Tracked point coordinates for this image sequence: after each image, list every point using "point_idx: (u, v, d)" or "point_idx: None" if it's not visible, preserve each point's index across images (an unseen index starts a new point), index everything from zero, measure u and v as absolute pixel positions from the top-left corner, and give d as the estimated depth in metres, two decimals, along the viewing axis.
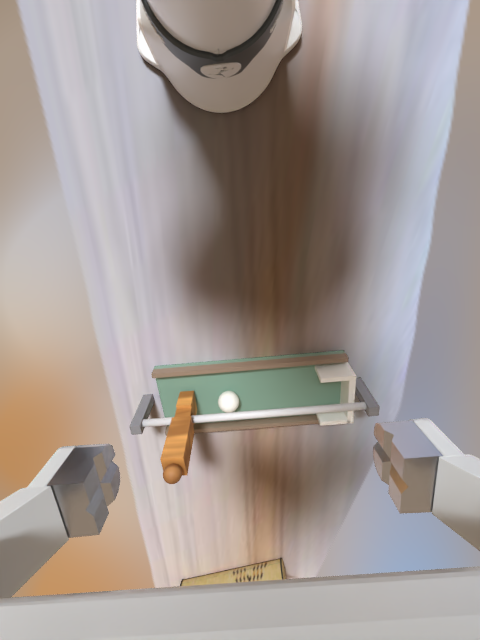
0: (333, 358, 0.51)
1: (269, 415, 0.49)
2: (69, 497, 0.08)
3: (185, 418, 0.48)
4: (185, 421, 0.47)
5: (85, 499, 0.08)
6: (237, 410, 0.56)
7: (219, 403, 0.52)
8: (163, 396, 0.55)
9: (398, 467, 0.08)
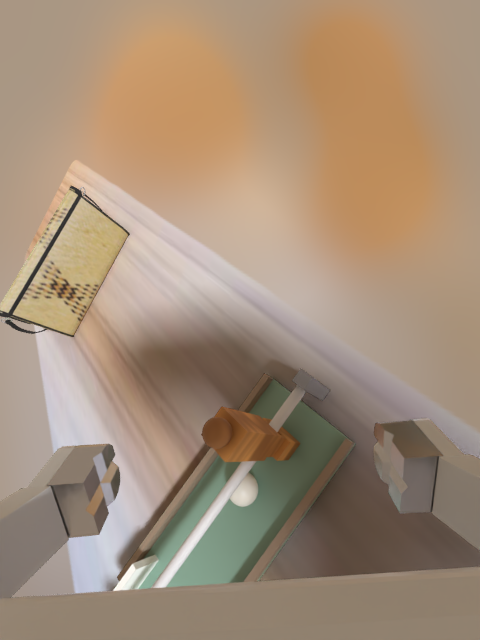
0: None
1: (187, 543, 0.33)
2: (69, 497, 0.08)
3: (267, 454, 0.31)
4: (264, 454, 0.31)
5: (85, 499, 0.08)
6: (225, 473, 0.40)
7: (249, 481, 0.35)
8: (310, 415, 0.37)
9: (398, 467, 0.08)
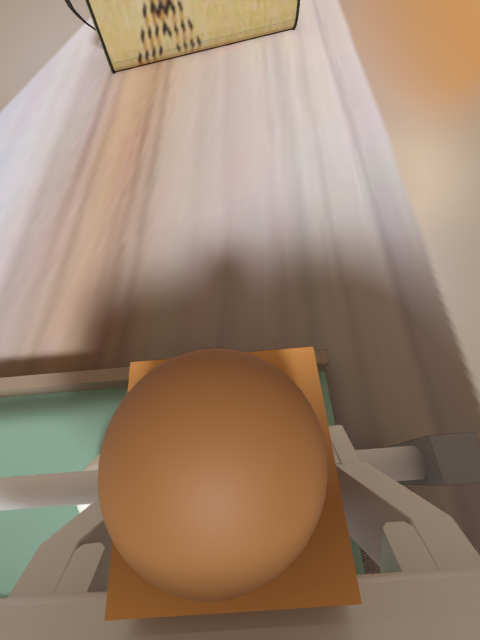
0: None
1: None
2: None
3: None
4: None
5: None
6: None
7: None
8: None
9: None
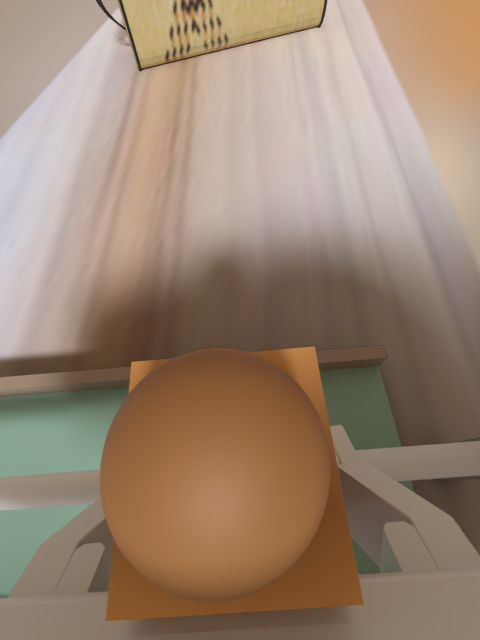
0: None
1: None
2: None
3: None
4: None
5: None
6: None
7: None
8: None
9: None
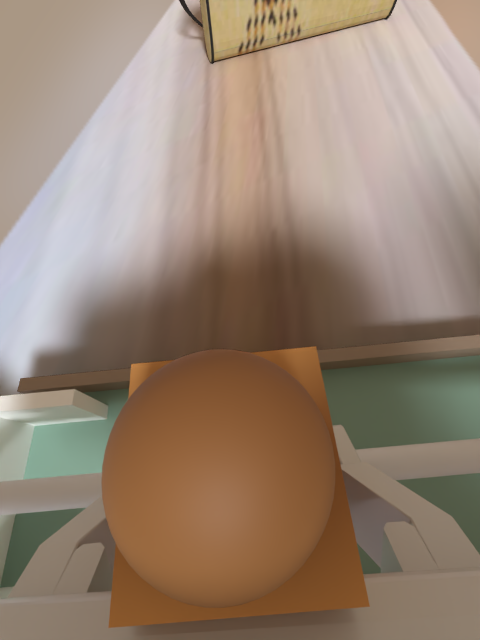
0: None
1: None
2: None
3: None
4: None
5: None
6: (333, 405, 0.19)
7: None
8: None
9: None
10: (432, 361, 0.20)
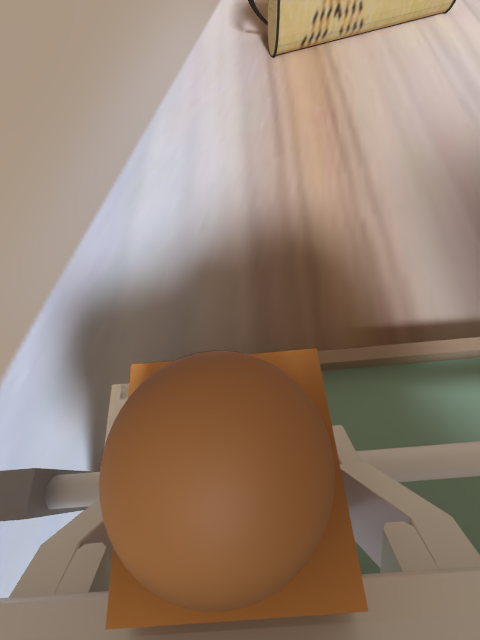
0: None
1: (442, 462, 0.12)
2: None
3: None
4: None
5: None
6: (459, 396, 0.19)
7: None
8: None
9: None
10: None
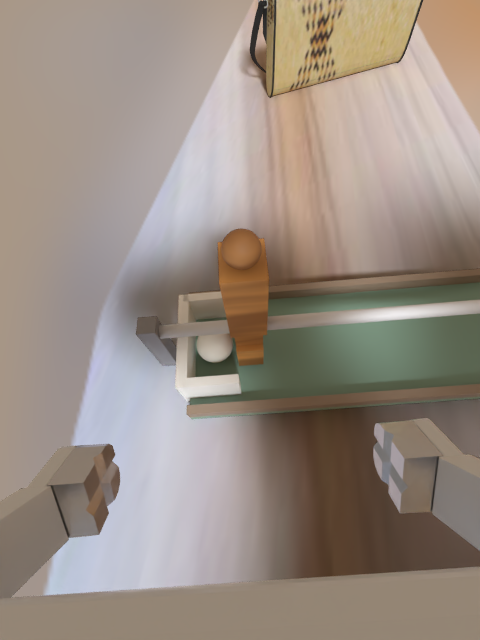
0: (212, 412, 0.28)
1: (332, 315, 0.27)
2: (69, 497, 0.08)
3: (240, 334, 0.25)
4: (238, 331, 0.25)
5: (85, 499, 0.08)
6: None
7: None
8: None
9: (398, 467, 0.08)
10: (420, 287, 0.34)
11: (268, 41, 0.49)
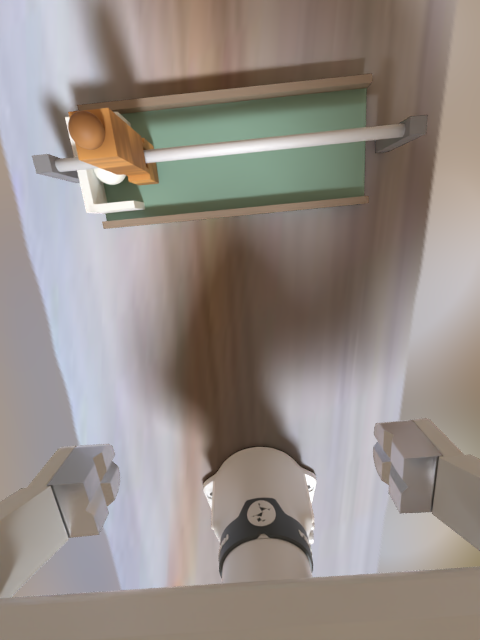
0: (123, 226, 0.38)
1: (202, 150, 0.31)
2: (69, 497, 0.08)
3: (124, 173, 0.31)
4: (120, 172, 0.30)
5: (85, 499, 0.08)
6: (250, 123, 0.36)
7: None
8: (360, 154, 0.37)
9: (398, 467, 0.08)
10: (308, 95, 0.35)
11: None
